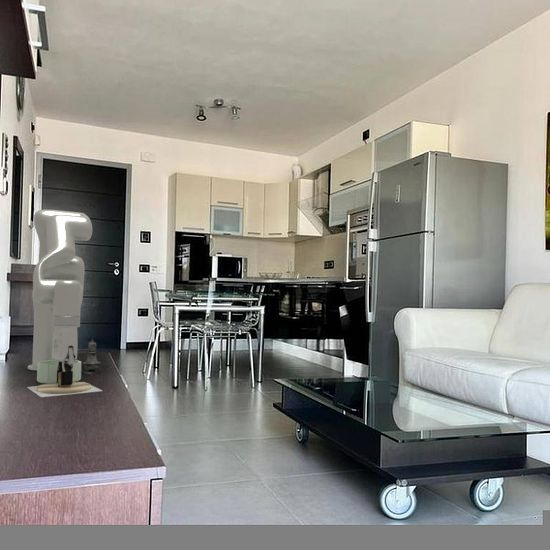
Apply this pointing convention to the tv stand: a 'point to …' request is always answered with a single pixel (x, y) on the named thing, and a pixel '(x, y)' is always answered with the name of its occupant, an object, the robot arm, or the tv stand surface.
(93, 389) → the mat
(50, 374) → the bowl
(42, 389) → the lid
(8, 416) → the tv stand surface
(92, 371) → the salt shaker
